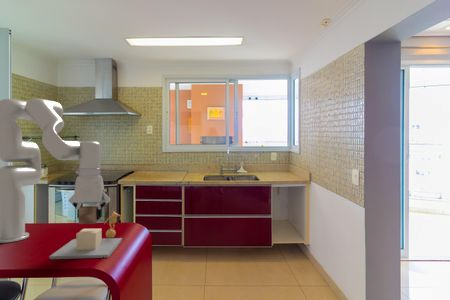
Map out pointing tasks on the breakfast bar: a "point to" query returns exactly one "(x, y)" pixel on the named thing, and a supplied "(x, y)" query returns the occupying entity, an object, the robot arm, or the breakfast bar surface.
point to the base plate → (87, 253)
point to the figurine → (111, 232)
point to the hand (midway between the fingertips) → (89, 218)
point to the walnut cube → (88, 214)
